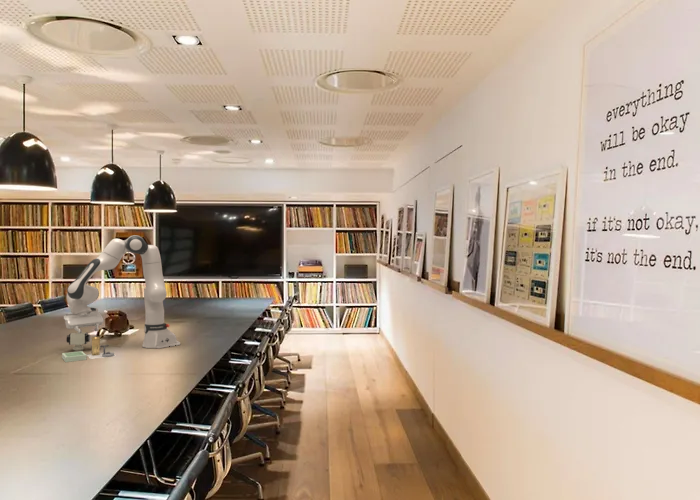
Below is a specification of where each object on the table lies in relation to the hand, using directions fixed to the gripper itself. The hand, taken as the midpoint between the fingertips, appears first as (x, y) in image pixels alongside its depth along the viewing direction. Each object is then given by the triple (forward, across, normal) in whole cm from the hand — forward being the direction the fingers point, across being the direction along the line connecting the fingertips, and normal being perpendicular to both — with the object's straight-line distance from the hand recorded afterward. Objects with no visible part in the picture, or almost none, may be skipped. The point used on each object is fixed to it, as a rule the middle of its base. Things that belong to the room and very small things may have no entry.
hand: (88, 331), depth 282 cm
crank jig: (+18, +1, 0) cm, 18 cm away
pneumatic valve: (+1, 0, +18) cm, 18 cm away
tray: (+16, -12, +3) cm, 20 cm away
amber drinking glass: (+14, 0, +3) cm, 15 cm away
